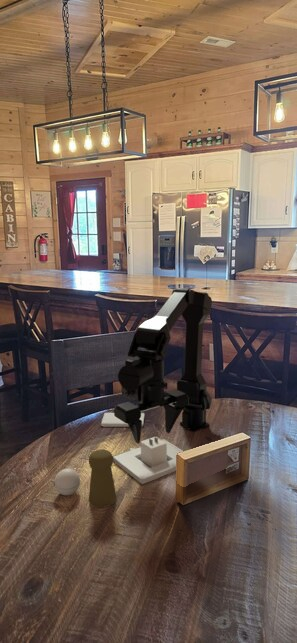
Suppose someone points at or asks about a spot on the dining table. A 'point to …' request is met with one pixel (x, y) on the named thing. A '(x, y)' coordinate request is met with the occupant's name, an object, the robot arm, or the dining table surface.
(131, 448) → the grey bar
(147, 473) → the outlet plate
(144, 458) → the charger brick
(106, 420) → the external hard drive
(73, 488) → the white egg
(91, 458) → the olive pawn
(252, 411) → the dining table surface
